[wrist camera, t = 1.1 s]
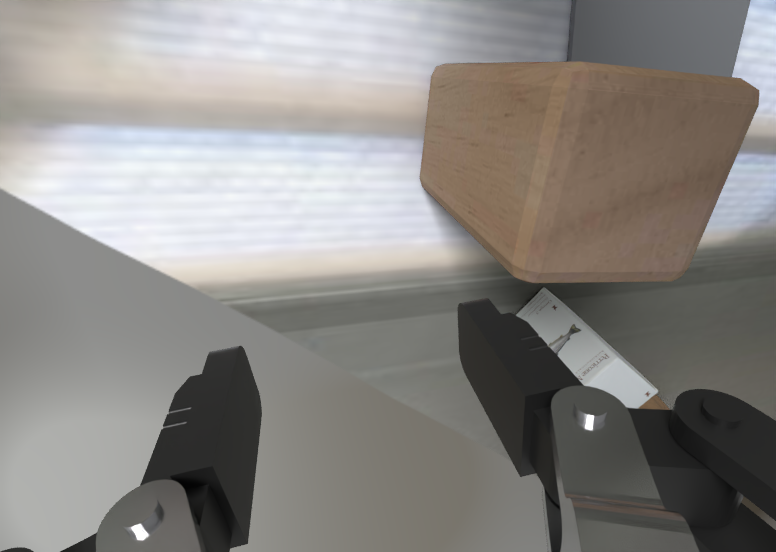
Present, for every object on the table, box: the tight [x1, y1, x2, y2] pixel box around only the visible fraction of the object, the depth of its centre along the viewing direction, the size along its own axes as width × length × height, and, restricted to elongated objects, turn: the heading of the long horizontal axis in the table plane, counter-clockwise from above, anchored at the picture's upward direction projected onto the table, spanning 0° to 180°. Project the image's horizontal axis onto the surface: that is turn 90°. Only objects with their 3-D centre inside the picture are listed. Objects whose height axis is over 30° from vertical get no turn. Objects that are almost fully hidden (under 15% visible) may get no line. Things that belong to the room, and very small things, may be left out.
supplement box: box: [516, 287, 658, 409], centre depth 42 cm, size 7×7×13 cm
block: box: [420, 61, 759, 283], centre depth 28 cm, size 10×10×20 cm
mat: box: [567, 0, 750, 77], centre depth 38 cm, size 24×16×1 cm, turn 6°
